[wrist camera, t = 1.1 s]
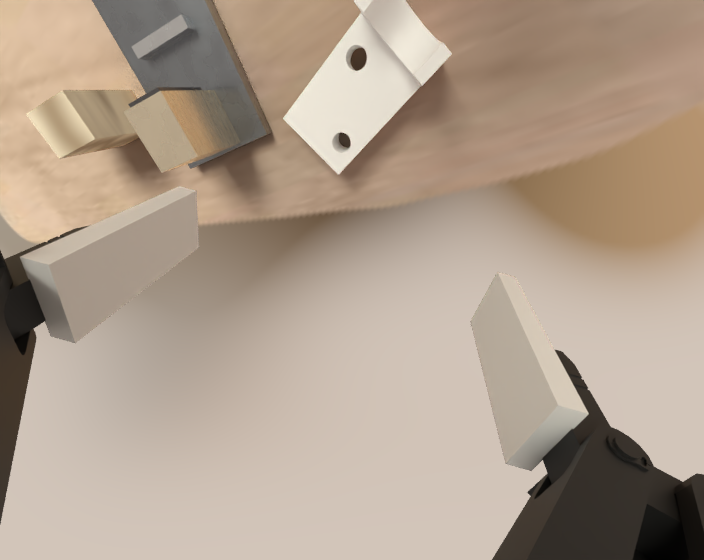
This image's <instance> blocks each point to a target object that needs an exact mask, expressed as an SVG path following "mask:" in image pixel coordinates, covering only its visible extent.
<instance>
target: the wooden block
mask: <svg viewBox="0 0 704 560" xmlns="http://www.w3.org/2000/svg"><path fill="white" fill-rule="evenodd" d="M136 99H137V98H136V96H135V94H134V93H133V91H132V90H65V91H61V92H59V93H58V94H56V95H55V96H53V97H51V98H50V99H48V100H47V101H45V102H44V103H42V104H41V105H39V106H38V107H36V108H35V109H33V110H31V111H30V112H28V113H27V114H26V115H27V116H28V118H29V119H30V120H31V122H32V123H33V124H34V126H35V127H36V128H37V130H38V131H39V132H40V134H41V135H42V136H43V138H44V139H45V140H46V142H47V143H48V144H49V146H50V147H51V148H52V150H53V151H54V152H55V154H56V155H57V156H58V158H59V159H61V158H66V157H71V156H76V155H81V154H86V153H91V152H96V151H101V150H105V149H110V148H115V147H120V146H124V145H126V144H128V143H130V142H132V141H134V140H136V139H138V138H139V136H138V135H137V133H136V131H135V130H134V128H133V127H132V125H131V123H130V122H129V120H128V119H127V117H126V115H125V114H124V111H126V110H128V109H129V108H130V106H129V105H128V104H130V103H131V102H133V101H135V100H136Z"/></svg>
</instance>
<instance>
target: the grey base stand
mask: <svg viewBox="0 0 704 560" xmlns="http://www.w3.org/2000/svg"><path fill="white" fill-rule="evenodd" d="M92 1H93V3H94V4H95V6H96V8H97V10H98V11H99V13H100V15H101V16H102V18H103V20H104V22H105V23H106V25H107V27H108V28H109V30H110V32H111V34H112V35H113V37H114V39H115V40H116V42H117V44H118V45H119V47H120V49H121V51H122V52H123V54H124V56H125V57H126V59H127V61H128V63H129V64H130V66H131V68H132V69H133V71H134V73H135V75H136V76H137V78H138V80H139V81H140V83H141V85H142V87H143V88H144V90H145V92H146V93H147V94H145V95H143V96H142V97H140V98H138V99H136V100H135V101H133V102H131V103H130V104H128V105H129V106H130V108H129V109H128V110H126V111H124V114H125V115H126V117H127V119H128V120H129V122H130V123H131V125H132V127H133V128H134V130H135V131H136V133H137V135H138V136H139V138H140V139H141V141H142V143H143V144H144V146H145V147H146V149H147V150H148V152H149V154H150V155H151V157H152V158H153V160H154V162H155V163H156V165H157V166H158V168H159V170H160V171H161V173H163V172H166V171H169V170H172V169H175V168H178V167H181V166H183V165H186V164H188V165H189V167H190V169H191V168H194V167H196V166H199V165H201V164H203V163H206V162H208V161H210V160H212V159H215V158H217V157H219V156H221V155H223V154H226V153H228V152H230V151H232V150H235V149H237V148H239V147H241V146H243V145H246V144H248V143H250V142H252V141H255V140H257V139H259V138H261V137H263V136H266V135H268V134H270V133H272V131H271V129H270V127H269V125H268V122H267V120H266V118H265V116H264V114H263V111H262V109H261V107H260V105H259V103H258V100H257V98H256V96H255V94H254V92H253V89H252V87H251V85H250V83H249V81H248V78H247V76H246V74H245V72H244V69H243V67H242V65H241V63H240V61H239V58H238V56H237V54H236V52H235V50H234V47H233V45H232V43H231V41H230V39H229V36H228V34H227V32H226V30H225V28H224V25H223V23H222V21H221V19H220V17H219V14H218V12H217V10H216V8H215V6H214V3H213V1H212V0H92Z"/></svg>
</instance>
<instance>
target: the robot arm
mask: <svg viewBox="0 0 704 560" xmlns="http://www.w3.org/2000/svg"><path fill="white" fill-rule="evenodd" d="M198 248H199V238H198V216H197V193H196V191H195V190H192V189H188V188H184V187H180V186H178V187H176V188H174V189H172V190H169V191H167V192H165V193H163V194H160V195H158V196H156V197H154V198H151V199H149V200H147V201H145V202H142V203H140V204H138V205H135V206H133V207H131V208H129V209H126V210H124V211H122V212H120V213H117V214H115V215H113V216H111V217H108V218H106V219H104V220H102V221H99V222H97V223H95V224H93V225H90V226H85V227H81V228H76V229H73V230H71V231H69V232H66V233H64V234H62V235H60V237H55V238H53V239H50V240H48V242H43V243H41V244H39V245H36V246H34V247H32V248H30V249H27V250H25V251H23V252H20V253H18V254H16V255H14V256H11V257H9V258H6V259H4V258H3V256H2V253H1V251H0V523H1V518H2V512H3V507H4V502H5V497H6V491H7V487H8V482H9V476H10V471H11V466H12V461H13V456H14V451H15V446H16V440H17V435H18V430H19V425H20V420H21V415H22V410H23V404H24V399H25V394H26V389H27V384H28V379H29V374H30V369H31V364H32V358H33V353H34V348H35V343H36V334H35V331H34V329H33V328H35V327H36V326H38V325H40V324H41V323H43V322H44V321H45V323H46V325H47V328H48V330H49V333H50V336H52V337H55V338H59V339H63V340H66V341H70V342H73V343H76V342H77V341H79V340H80V339H81V338H82V337H84V336H85V335H86V334H88V333H89V332H90V331H91V330H93V329H94V328H95V327H97V326H98V325H99V324H101V323H102V322H103V321H104V320H106V319H107V318H108V317H110V316H111V315H112V314H113V313H115V312H116V311H117V310H119V309H120V308H121V307H122V306H124V305H125V304H126V303H128V302H129V301H130V300H132V299H133V298H134V297H135V296H137V295H138V294H139V293H141V292H142V291H143V290H145V289H146V288H147V287H148V286H150V285H151V284H152V283H154V282H155V281H156V280H157V279H159V278H160V277H161V276H162V275H164V274H165V273H167V272H168V271H169V270H170V269H172V268H173V267H174V266H175V265H177V264H178V263H179V262H181V261H182V260H183V259H185V258H186V257H187V256H189V255H190V254H191V253H192V252H194V251H195V250H196V249H198ZM471 326H472V330H473V333H474V337H475V342H476V346H477V350H478V354H479V358H480V362H481V366H482V370H483V374H484V378H485V382H486V386H487V390H488V394H489V398H490V402H491V407H492V410H493V414H494V419H495V422H496V426H497V431H498V435H499V439H500V443H501V447H502V451H503V455H504V459H505V463H506V464H509V465H512V466H516V467H519V468H523V469H527V470H530V471H532V470H533V469H534V468H535V467H536V466H537V465H538V464H539V463H540V462H541V461H542V460H543V461H544V464H545V467H546V469H547V473H548V474H547V475H545V476H544V477H543V478H542V479H541V480H540V481H539V482H538V483H537V484H536V485H535V486H534V487H533V488H532V489H530V490H529V491H528V494H529V495H530V496H531V497H530V499H529V500H528V502H527V504H526V505H525V507H524V508H523V510H522V512H521V513H520V515H519V517H518V518H517V520H516V522H515V523H514V525H513V526H512V528H511V530H510V531H509V533H508V535H507V536H506V538H505V540H504V541H503V543H502V544H501V546H500V548H499V549H498V551H497V553H496V554H495V556H494V557H493V559H492V560H704V475H702V474H695V475H693V476H692V477H690V478H689V479H687V480H686V481H684V482H682V481H680V480H678V479H676V478H674V477H672V476H670V475H668V474H667V473H665V472H663V471H661V470H659V469H657V468H655V467H654V466H653V464H652V462H651V460H650V458H649V456H648V455H647V454H646V453H645V451H644V450H643V449H642V448H641V447H640V446H639V445H638V444H637V443H636V442H635V441H634V440H632V439H631V438H630V437H629V436H627V435H625V434H624V433H622V432H620V431H619V430H617V429H614V428H611V427H610V425H609V424H608V422H607V420H606V418H605V416H604V415H603V413H602V411H601V410H600V408H599V406H598V404H597V403H596V401H595V399H594V398H593V396H592V394H591V392H590V391H589V390H587V389H588V387H587V385H586V384H585V382H584V380H582V379H581V378H582V377H581V375H580V373H579V371H578V370H577V368H576V366H575V365H574V364H573V362H572V361H571V360H570V359H569V358H568V357H567V356H566V355H565V354H564V353H563V352H561V351H558V350H554V348H553V346H552V344H551V342H550V340H549V339H548V337H547V335H546V333H545V331H544V330H543V328H542V326H541V324H540V322H539V320H538V318H537V316H536V314H535V313H534V311H533V309H532V307H531V305H530V303H529V301H528V299H527V298H526V296H525V294H524V292H523V290H522V288H521V286H520V284H519V283H518V281H517V279H516V277H514V276H511V275H507V274H503V273H500V272H497V274H496V276H495V278H494V279H493V281H492V283H491V285H490V287H489V289H488V290H487V292H486V294H485V296H484V298H483V299H482V301H481V303H480V305H479V307H478V309H477V310H476V312H475V314H474V316H473V318H472V320H471Z"/></svg>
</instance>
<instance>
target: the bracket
mask: <svg viewBox="0 0 704 560" xmlns="http://www.w3.org/2000/svg"><path fill="white" fill-rule="evenodd" d="M354 2H355V4H356V5H357V7H358V8H359V10H360V12H361V13H360V15H359V16H358V17H357V19H356V20H355V21H354V23H353V24H352V26H351V27H350V28H349V30H348V31H347V32H346V34H345V35H344V36H343V38H342V39H341V40H340V42H339V43H338V45H337V46H336V47H335V49H334V50H333V51H332V53H331V54H330V55H329V57H328V58H327V60H326V61H325V62H324V64H323V65H322V66H321V68H320V69H319V70H318V72H317V73H316V74H315V76H314V77H313V79H312V80H311V81H310V83H309V84H308V85H307V87H306V88H305V89H304V91H303V92H302V93H301V95H300V96H299V98H298V99H297V100H296V102H295V103H294V104H293V106H292V107H291V108H290V110H289V111H288V112H287V114H286V115H285V117H284V118H283V119H284V120H285V121H286V122H287V123H288V124H289V125H290V126H291V127H292V128H293V129H294V130H295V131H296V132H297V133H298V134H299V135H300V136H301V137H302V138H303V139H304V140H305V142H306V143H307V144H308V145H309V146H310V147H311V148H312V149H313V150H314V151H315V152H316V153H317V154H318V155H319V156H320V157H321V158H322V159H323V160H324V161H325V162H326V163H327V164H328V165H329V166H330V167H331V168H332V169H333V170H334V171H335V172H336V173H337V174H338V175H339V174H340V173H341V172H342V170H343V169H344V168H345V167H346V166H347V165H348V164H349V163H350V162H351V161H352V160H353V159H354V158H355V156H356V155H357V154H358V153H359V152H360V151H361V150H362V149H363V148H364V147H365V146H366V145H367V144H368V142H369V141H370V140H371V139H372V138H373V137H374V136H375V135H376V134H377V133H378V132H379V131H380V130H381V128H382V127H383V126H384V125H385V124H386V123H387V122H388V121H389V120H390V119H391V118H392V117H393V115H394V114H395V113H396V112H397V111H398V110H399V109H400V108H401V107H402V106H403V105H404V104H405V103H406V101H407V100H408V99H409V98H410V97H411V96H412V95H413V94H414V93H415V92H416V91H417V90H418V89H419V87H420V86H423V85H424V84H425V82H426V81H427V80H428V79H429V78H430V77H431V76H432V75H433V74H434V73H435V72H436V71H437V70H438V68H439V67H440V66H441V65H442V64H443V63H444V62H445V61H446V60H447V59H448V58H449V57H450V56H451V54H452V53H451V52H450V51H449V49H448V48H447V47H446V45H445V44H444V43H441V42H440V41H438V40H437V39H436V38H435V37H434V36H433V35H432V34H431V33H430V32H429V30H428V29H427V28H426V27H425V26H424V25H423V23H422V22H421V21H420V20H419V18H418V17H417V16H416V14H415V13H414V12H413V10H412V9H411V8H410V6H409V5H408V3H407V2H406V0H354ZM358 48H363V49H365V51H366V54H367V62H366V64H365V66H364V67H363V68H362V69H361V70H358V71H356V70H354V69H353V67H352V65H351V56H352V53H353V52H354V51H355V50H356V49H358ZM340 133H345V134H347V135H348V136H349V138H350V140H351V146H350V147H344V146H342V145H341V144H340V142H339V134H340Z"/></svg>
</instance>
